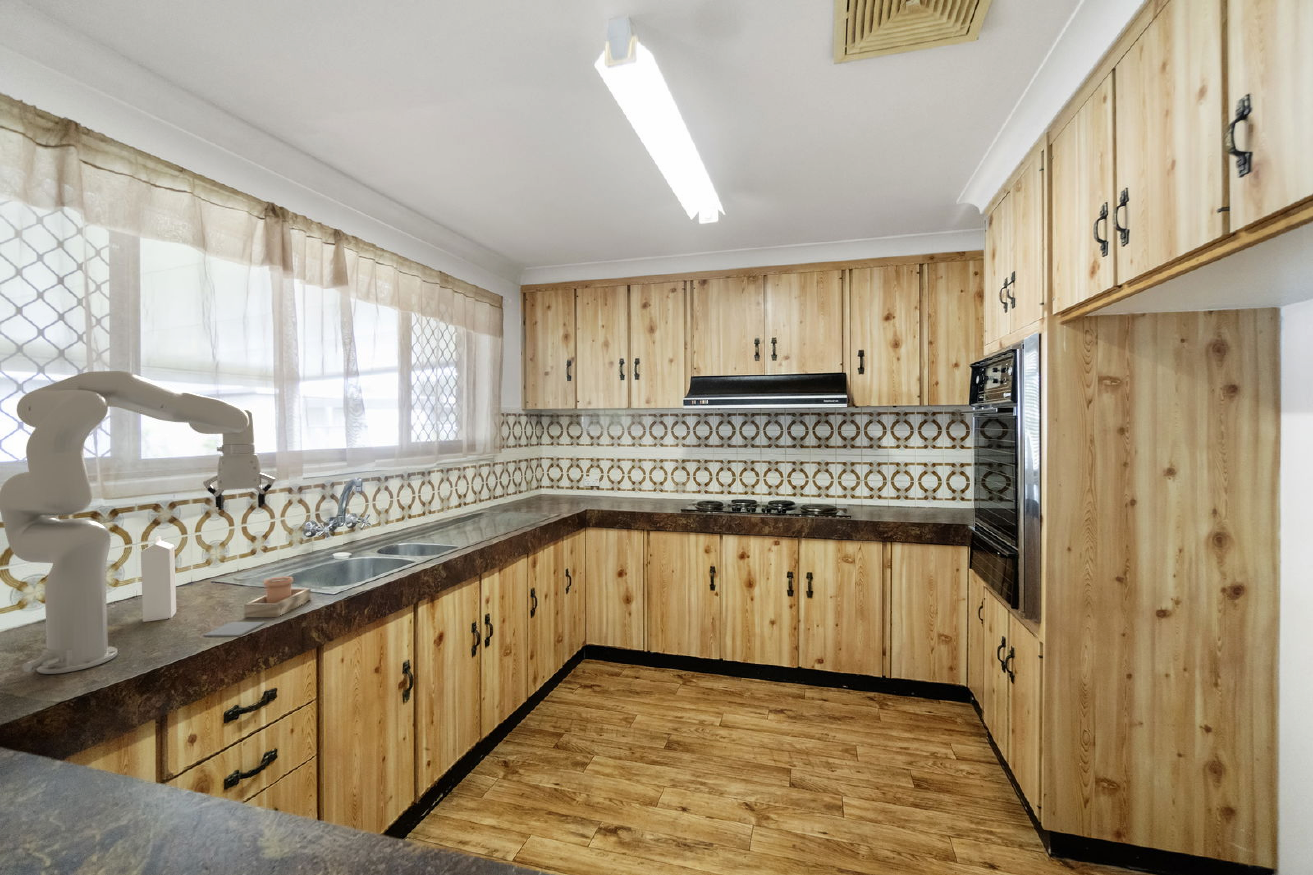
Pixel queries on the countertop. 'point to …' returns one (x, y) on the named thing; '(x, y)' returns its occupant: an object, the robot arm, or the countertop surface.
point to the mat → (234, 629)
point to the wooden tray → (277, 604)
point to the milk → (158, 581)
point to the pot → (278, 589)
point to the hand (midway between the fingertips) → (241, 508)
